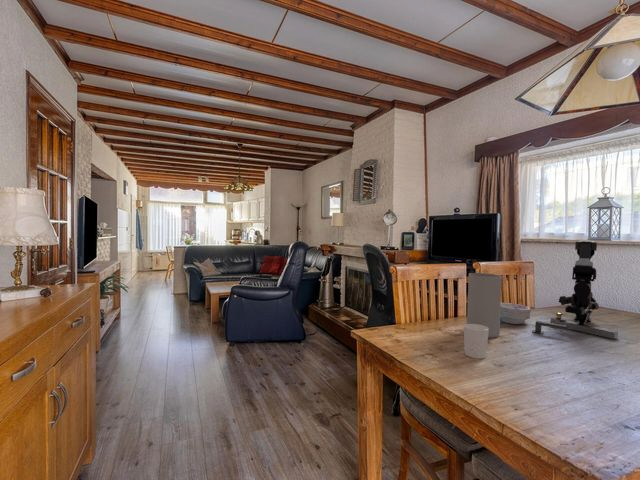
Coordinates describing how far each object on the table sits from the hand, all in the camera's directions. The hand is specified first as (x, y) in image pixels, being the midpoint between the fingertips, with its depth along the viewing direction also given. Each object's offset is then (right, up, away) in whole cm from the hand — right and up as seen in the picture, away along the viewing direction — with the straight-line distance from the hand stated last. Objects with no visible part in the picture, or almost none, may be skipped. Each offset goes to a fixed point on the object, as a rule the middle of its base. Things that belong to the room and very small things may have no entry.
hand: (581, 326), depth 152 cm
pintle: (-7, -1, +5) cm, 9 cm away
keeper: (-20, -1, -8) cm, 22 cm away
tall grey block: (-49, -1, -9) cm, 50 cm away
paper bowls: (-25, -1, +11) cm, 28 cm away
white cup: (-64, -2, -34) cm, 72 cm away
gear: (-40, -1, +3) cm, 41 cm away
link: (-2, -1, -2) cm, 3 cm away
